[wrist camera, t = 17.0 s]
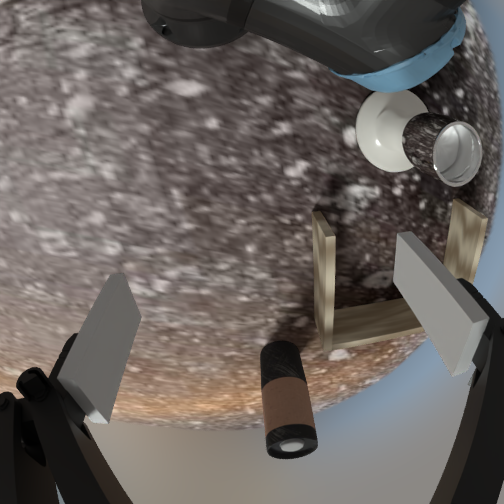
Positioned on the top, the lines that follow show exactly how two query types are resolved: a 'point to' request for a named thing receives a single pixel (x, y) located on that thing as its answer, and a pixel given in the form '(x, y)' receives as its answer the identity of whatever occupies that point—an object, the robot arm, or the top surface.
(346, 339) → the open side box
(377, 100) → the coaster
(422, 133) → the beer glass
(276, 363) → the travel mug
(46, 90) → the top surface
